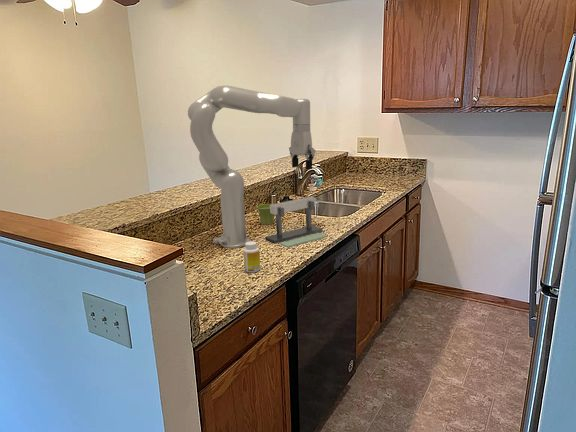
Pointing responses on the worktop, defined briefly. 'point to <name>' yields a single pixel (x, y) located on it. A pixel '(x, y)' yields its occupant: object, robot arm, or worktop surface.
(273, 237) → the hook rack
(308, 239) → the rubber mat
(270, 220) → the plant pot
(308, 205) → the pale grey bar
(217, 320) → the worktop surface
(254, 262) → the supplement bottle
